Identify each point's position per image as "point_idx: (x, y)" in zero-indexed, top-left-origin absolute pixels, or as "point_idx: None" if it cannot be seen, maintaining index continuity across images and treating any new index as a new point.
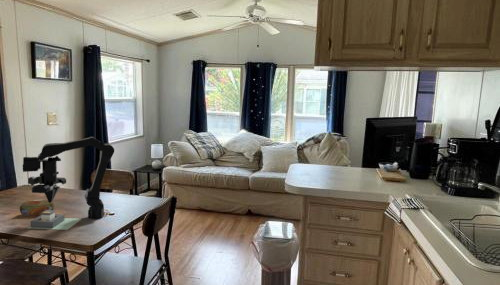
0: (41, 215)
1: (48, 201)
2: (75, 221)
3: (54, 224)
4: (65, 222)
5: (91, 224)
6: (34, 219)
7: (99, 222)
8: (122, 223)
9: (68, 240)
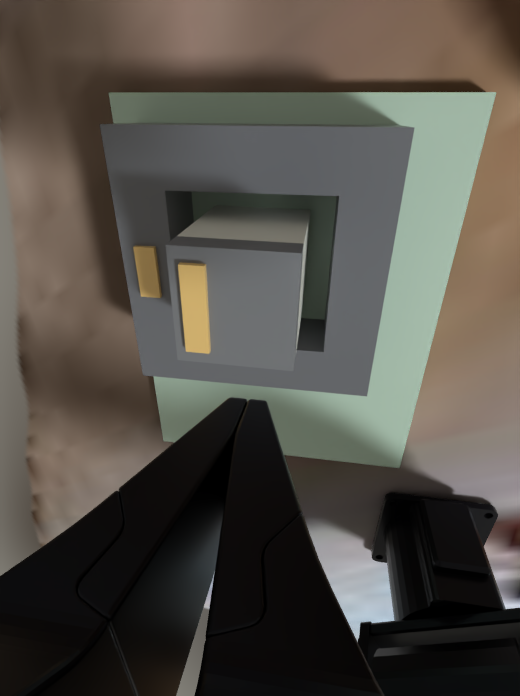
0: (178, 238)
1: (220, 407)
2: (332, 444)
3: None
4: None
5: (306, 521)
6: (165, 138)
7: (345, 550)
8: None
9: (52, 472)
